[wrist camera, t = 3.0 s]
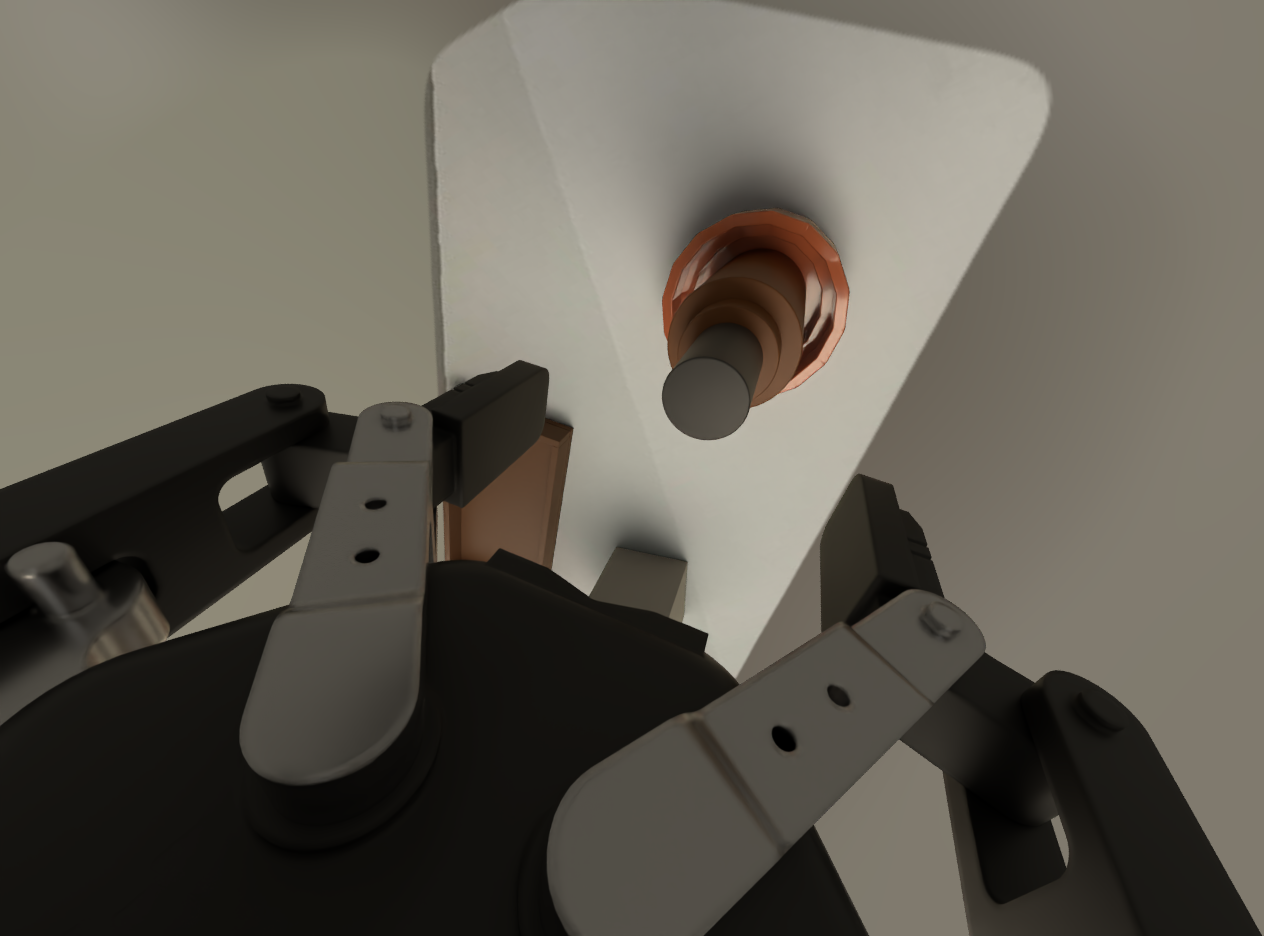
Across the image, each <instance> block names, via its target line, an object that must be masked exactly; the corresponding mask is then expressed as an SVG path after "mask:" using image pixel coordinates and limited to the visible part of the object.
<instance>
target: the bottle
mask: <svg viewBox="0 0 1264 936" xmlns="http://www.w3.org/2000/svg"><path fill="white" fill-rule="evenodd" d="M805 305H806V285H805V281H804V277H803V275H802V272H801V271H800V269H799V267H798V266H797V265H796V263H795V262H794V261H793V260H792V259H791V258H789V257H788V256H786V255H785V254H783V253H781V252H779V251H776V250H772V249H766V248H758V249H752V250H748V251H745V252H743V253H741V254H739V255H737V256H736V257H734V258H733V259H731V260H730V261H729V262H728V263H727V264H725V265H724V266H723V267H722V268H721V269H719V270H718V271H717V272H716V273H715V274H713V275H712V276H711V277H710V278H709V279H707V280H706V281H705V282H704V283H703V284H702V285H700V286H699V287H698V288H697V289H696V290H694V291H693V292H692V293H691V294H690V295H689V296H688V297H687V298H686V299H685V300H684V301H683V302H682V304H681V305H680V306H679V308H678V309H677V311H676V313H675V315H674V317H673V319H672V322H671V325H670V328H669V333H668V356H669V360H670V364H671V367H672V371H671V372H670V373H669V375H668V376H667V378H666V380H665V383H664V386H663V391H662V402H663V407H664V410H665V412H666V415H667V417H668V418H669V420H670V421H671V423H672V424H673V425H674V426H675V427H676V428H677V429H678V430H680V431H681V432H683V433H684V434H686V435H688V436H690V437H693V438H696V439H700V440H716V439H720V438H723V437H726V436H728V435H730V434H732V433H733V432H735V431H736V430H737V429H738V428H739V427H740V426H741V425H742V424H743V422H744V421H745V419H746V417H747V415H748V412H749V409H750V408H751V407H754V406H757V405H760V404H762V403H765V402H766V401H768V400H770V399H772V398H773V397H774V396H776V395H777V394H778V393H779V392H781V391H782V390H783V389H784V388H785V387H786V385H787V384H788V383H789V382H790V380H791V379H792V377H793V376H794V374H795V372H796V370H797V368H798V365H799V362H800V359H801V355H802V348H803V335H804V320H805Z"/></svg>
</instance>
